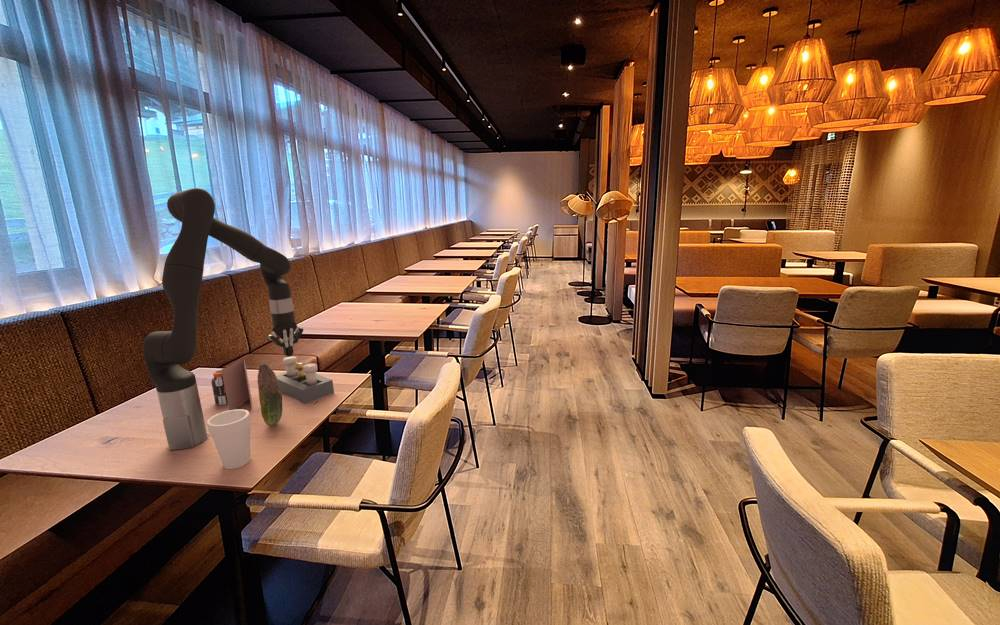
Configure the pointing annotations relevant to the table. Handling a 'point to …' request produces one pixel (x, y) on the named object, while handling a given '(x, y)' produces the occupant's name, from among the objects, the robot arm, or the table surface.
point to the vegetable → (269, 395)
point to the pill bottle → (219, 388)
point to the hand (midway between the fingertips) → (289, 355)
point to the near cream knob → (310, 373)
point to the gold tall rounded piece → (300, 370)
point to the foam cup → (231, 437)
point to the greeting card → (236, 384)
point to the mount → (305, 388)
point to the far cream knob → (290, 366)
